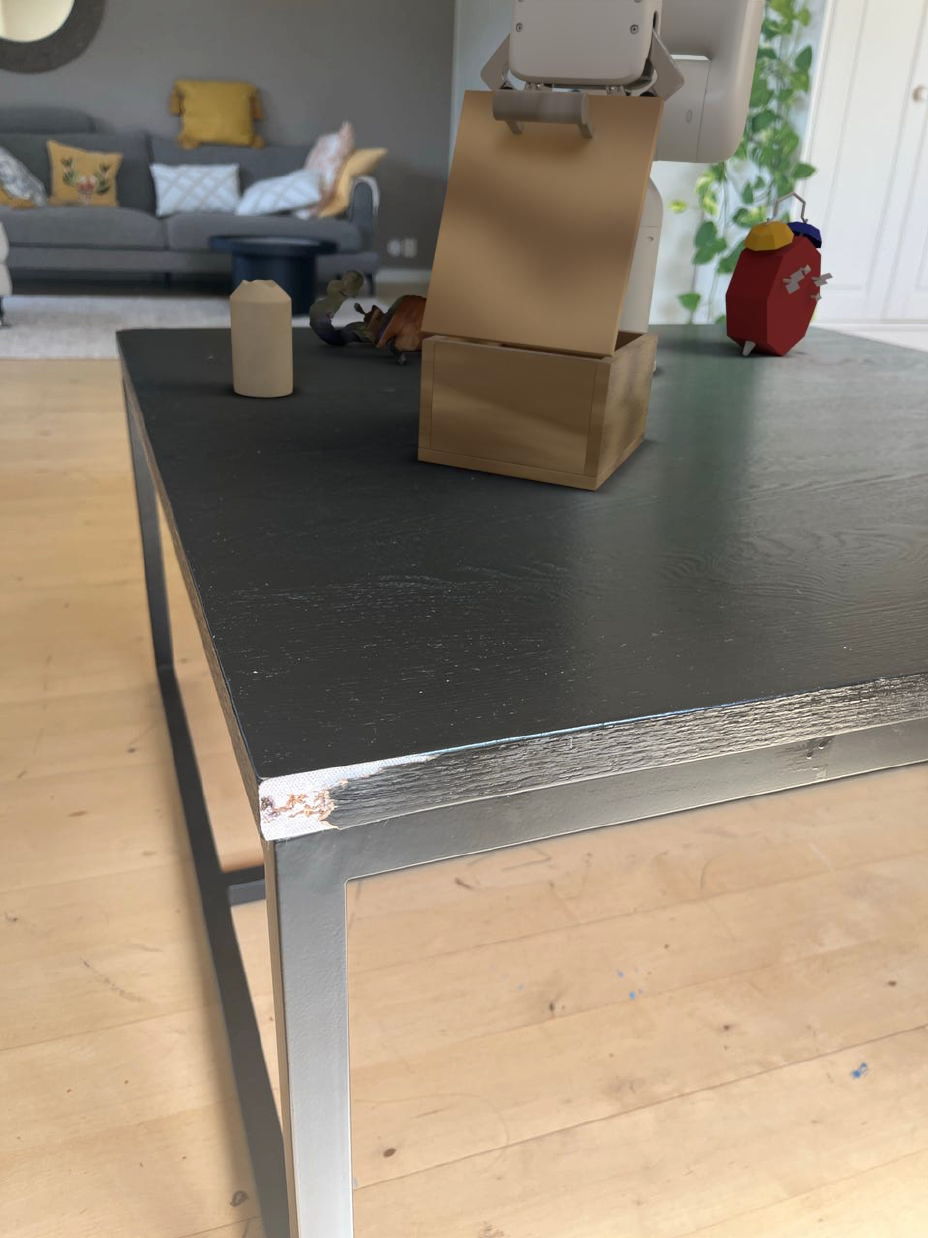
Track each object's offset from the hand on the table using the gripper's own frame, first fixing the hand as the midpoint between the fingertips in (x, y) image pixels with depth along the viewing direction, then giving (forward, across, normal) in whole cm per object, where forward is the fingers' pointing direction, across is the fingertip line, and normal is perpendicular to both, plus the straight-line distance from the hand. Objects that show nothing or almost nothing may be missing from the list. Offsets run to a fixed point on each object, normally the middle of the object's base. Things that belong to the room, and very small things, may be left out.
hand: (568, 187), depth 72 cm
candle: (+20, +29, -2) cm, 35 cm away
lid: (+2, 0, +8) cm, 8 cm away
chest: (+19, 0, +3) cm, 20 cm away
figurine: (+19, +29, -27) cm, 44 cm away
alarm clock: (+19, -12, -62) cm, 66 cm away
